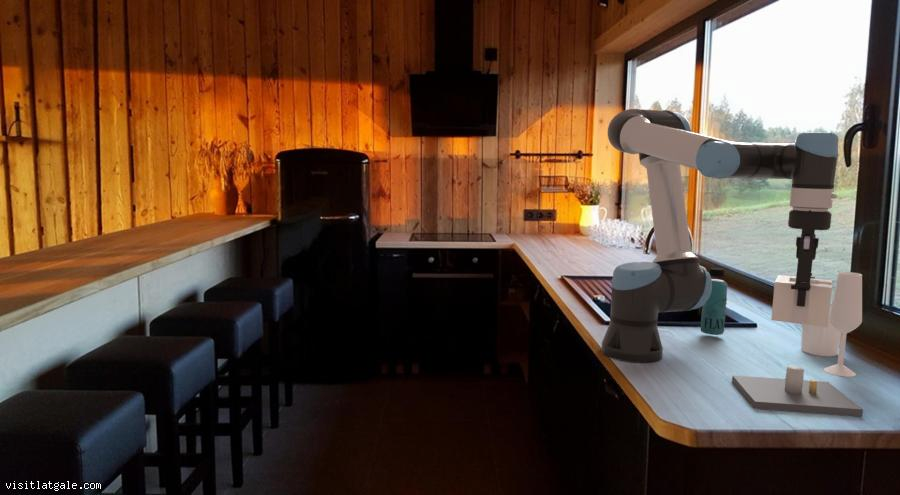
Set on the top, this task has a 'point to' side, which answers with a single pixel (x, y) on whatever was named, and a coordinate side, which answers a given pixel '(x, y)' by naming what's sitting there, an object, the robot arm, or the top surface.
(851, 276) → the champagne flute
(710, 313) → the beverage bottle
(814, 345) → the candle holder
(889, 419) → the top surface
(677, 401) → the top surface
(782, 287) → the beige notched hollow block
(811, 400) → the base plate
